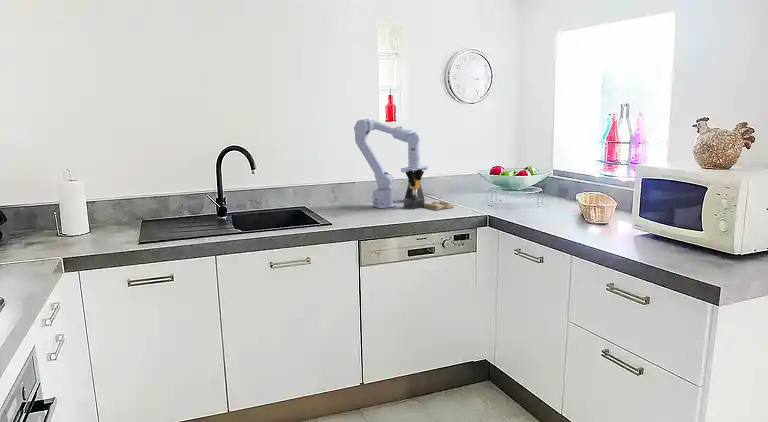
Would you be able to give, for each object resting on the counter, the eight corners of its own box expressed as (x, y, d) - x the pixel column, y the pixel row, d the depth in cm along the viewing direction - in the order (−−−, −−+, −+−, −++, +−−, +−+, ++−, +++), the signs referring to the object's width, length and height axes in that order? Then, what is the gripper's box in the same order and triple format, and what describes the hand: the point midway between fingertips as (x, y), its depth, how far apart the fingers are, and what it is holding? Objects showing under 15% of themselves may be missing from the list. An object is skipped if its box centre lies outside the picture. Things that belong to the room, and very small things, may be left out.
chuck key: (409, 197, 279) (409, 179, 277) (413, 196, 280) (413, 179, 279) (416, 198, 275) (415, 180, 273) (420, 197, 276) (419, 180, 274)
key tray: (437, 210, 270) (437, 206, 270) (424, 207, 278) (424, 203, 278) (453, 207, 275) (453, 203, 275) (440, 204, 284) (440, 200, 283)
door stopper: (404, 200, 296) (403, 177, 294) (412, 199, 300) (411, 176, 298) (416, 202, 290) (416, 179, 288) (424, 201, 294) (424, 178, 292)
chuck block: (412, 209, 274) (412, 200, 273) (403, 207, 279) (403, 198, 278) (424, 207, 277) (424, 199, 277) (415, 205, 283) (415, 197, 282)
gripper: (406, 159, 266) (407, 188, 269) (431, 157, 274) (431, 185, 277) (398, 158, 272) (398, 187, 275) (422, 156, 280) (422, 183, 283)
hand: (414, 186), depth 276 cm, fingers closed on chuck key, 2 cm apart
